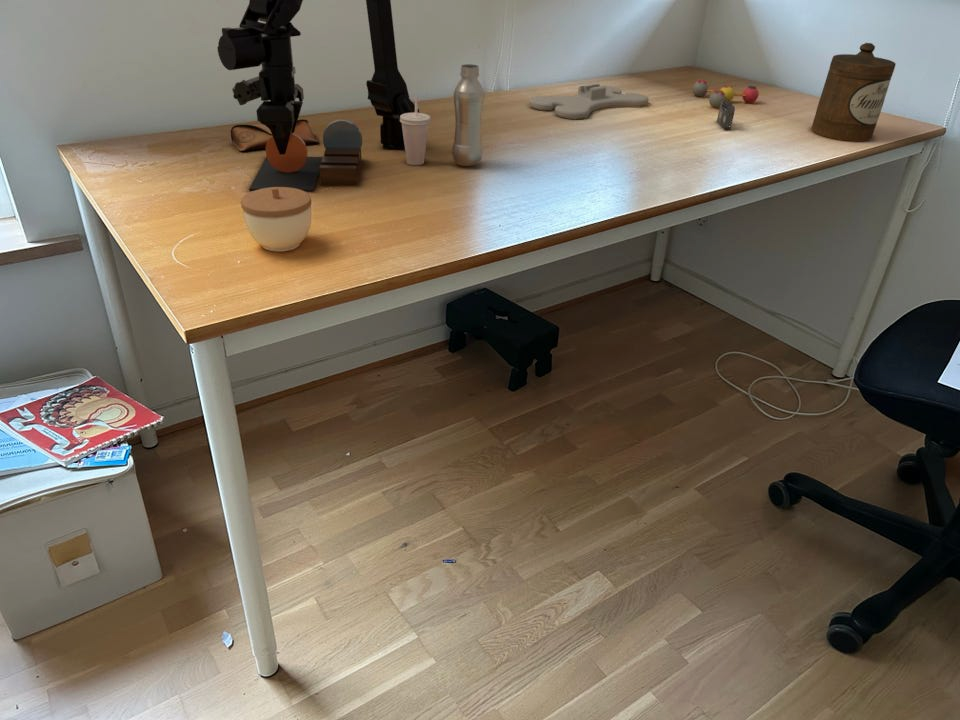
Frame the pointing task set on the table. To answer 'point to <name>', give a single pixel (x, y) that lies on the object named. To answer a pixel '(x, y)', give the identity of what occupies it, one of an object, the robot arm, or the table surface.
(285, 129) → the robot arm
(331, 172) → the coaster rack
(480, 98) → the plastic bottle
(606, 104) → the holder
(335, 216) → the table surface
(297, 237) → the trinket box
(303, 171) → the grey mat
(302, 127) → the sunglasses case
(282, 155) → the terracotta coaster
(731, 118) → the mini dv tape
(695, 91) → the molecule model
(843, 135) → the wooden container
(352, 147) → the blue-grey coaster
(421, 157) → the smoothie
